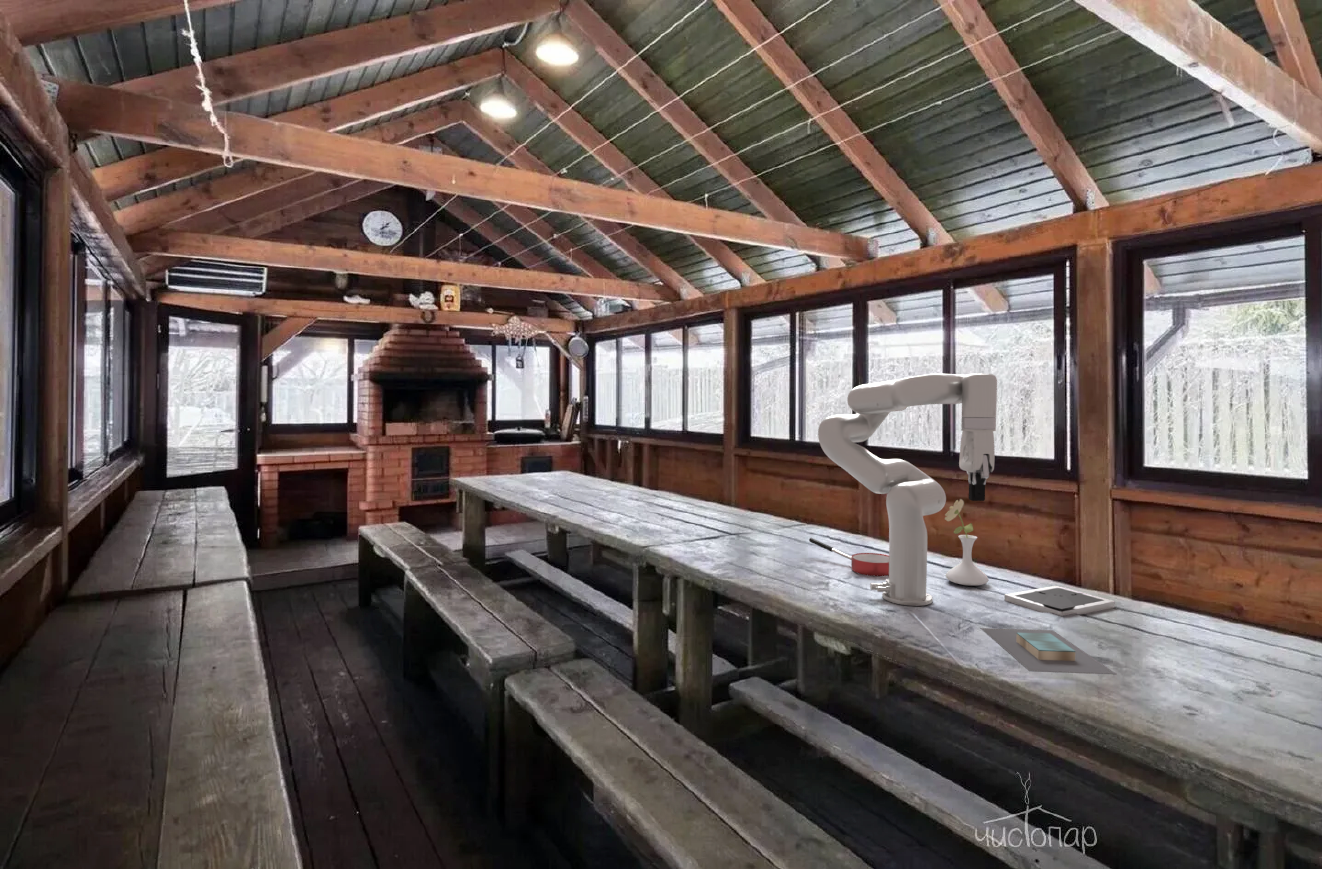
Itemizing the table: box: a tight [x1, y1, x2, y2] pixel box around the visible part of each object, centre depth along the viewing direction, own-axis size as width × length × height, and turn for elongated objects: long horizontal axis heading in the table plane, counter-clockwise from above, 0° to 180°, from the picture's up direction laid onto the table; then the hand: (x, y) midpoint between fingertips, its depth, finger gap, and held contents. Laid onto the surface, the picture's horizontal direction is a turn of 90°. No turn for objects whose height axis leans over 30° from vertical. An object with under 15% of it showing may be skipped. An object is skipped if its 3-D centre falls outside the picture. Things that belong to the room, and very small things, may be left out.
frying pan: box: [808, 537, 889, 577], centre depth 210 cm, size 32×13×6 cm, turn 41°
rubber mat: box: [980, 627, 1117, 675], centre depth 137 cm, size 16×24×1 cm, turn 175°
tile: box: [1016, 633, 1075, 661], centre depth 136 cm, size 7×2×10 cm
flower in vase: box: [944, 498, 989, 587], centre depth 188 cm, size 13×11×25 cm
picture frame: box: [1003, 585, 1116, 617], centre depth 170 cm, size 16×3×21 cm
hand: (976, 500), depth 157 cm, fingers closed
